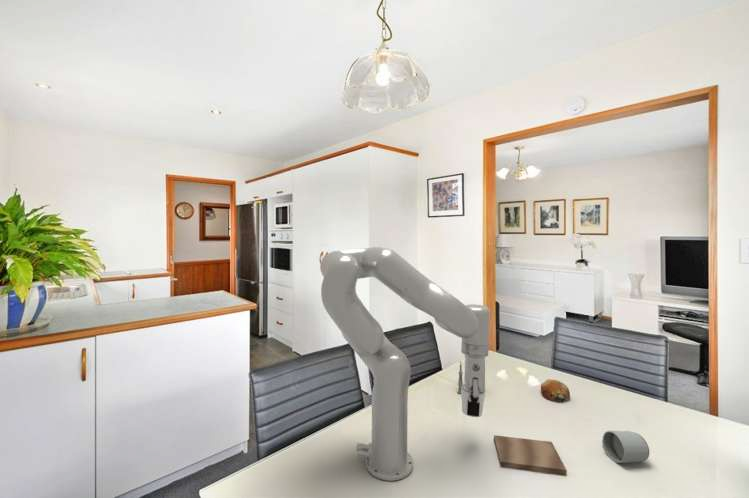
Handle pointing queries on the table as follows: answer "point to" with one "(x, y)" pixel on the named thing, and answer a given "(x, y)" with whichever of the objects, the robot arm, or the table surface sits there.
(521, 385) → the table surface
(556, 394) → the bread roll
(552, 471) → the walnut board
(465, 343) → the robot arm
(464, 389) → the white short cylinder
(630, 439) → the ceramic mug
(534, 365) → the table surface
